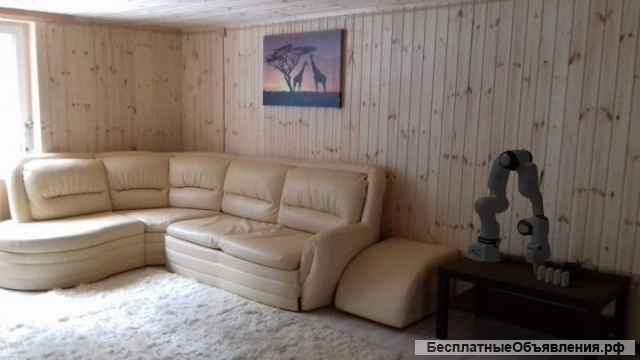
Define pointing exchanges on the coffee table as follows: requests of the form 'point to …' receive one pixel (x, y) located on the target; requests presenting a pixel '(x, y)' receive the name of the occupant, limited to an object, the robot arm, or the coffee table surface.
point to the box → (572, 269)
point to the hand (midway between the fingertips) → (537, 268)
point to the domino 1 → (537, 267)
